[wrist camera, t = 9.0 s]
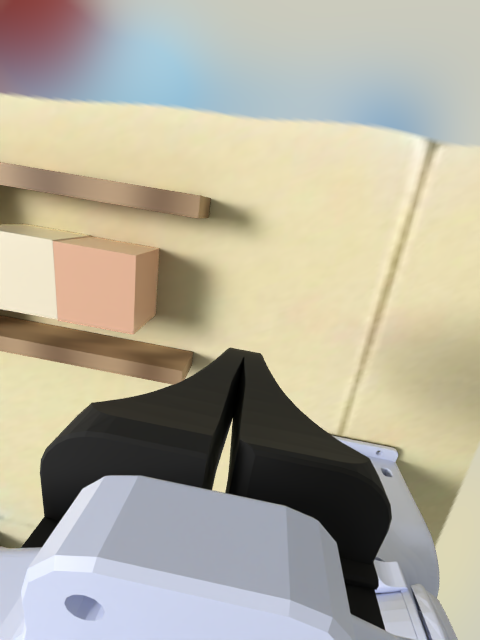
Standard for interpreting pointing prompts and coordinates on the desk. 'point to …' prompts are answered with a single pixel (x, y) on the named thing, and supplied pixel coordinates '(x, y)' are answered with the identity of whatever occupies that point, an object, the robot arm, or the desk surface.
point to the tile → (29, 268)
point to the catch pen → (87, 345)
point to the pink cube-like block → (105, 283)
